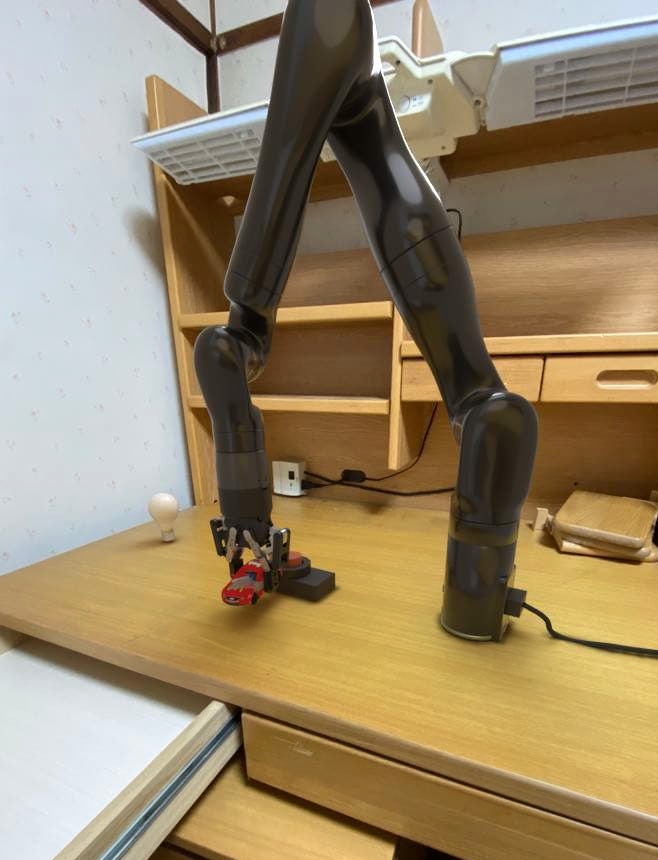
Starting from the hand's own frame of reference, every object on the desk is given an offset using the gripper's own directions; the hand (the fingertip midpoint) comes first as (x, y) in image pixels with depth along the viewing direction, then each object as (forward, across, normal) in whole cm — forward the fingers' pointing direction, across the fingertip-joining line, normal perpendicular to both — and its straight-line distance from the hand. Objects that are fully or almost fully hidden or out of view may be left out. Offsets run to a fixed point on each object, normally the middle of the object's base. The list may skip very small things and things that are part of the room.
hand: (254, 586), depth 71 cm
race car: (+1, 0, 0) cm, 1 cm away
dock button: (0, 0, +10) cm, 10 cm away
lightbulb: (+4, -37, +14) cm, 40 cm away
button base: (+4, 0, +10) cm, 11 cm away
